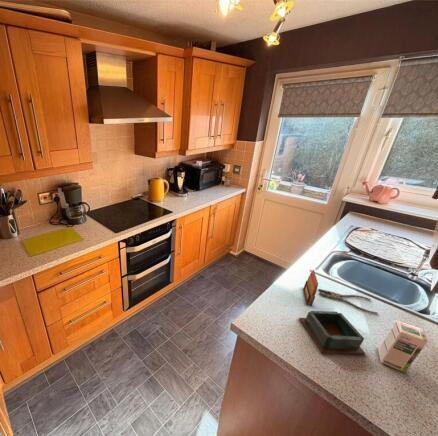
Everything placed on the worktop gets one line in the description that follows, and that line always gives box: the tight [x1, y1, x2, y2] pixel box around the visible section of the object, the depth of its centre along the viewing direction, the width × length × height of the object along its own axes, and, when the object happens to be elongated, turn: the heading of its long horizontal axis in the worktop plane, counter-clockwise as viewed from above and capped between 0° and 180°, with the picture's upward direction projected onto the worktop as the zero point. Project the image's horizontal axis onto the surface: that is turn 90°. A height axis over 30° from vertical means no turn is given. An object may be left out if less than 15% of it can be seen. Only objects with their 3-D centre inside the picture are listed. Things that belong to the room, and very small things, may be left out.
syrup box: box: [378, 319, 428, 373], centre depth 73 cm, size 6×6×14 cm
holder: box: [298, 310, 366, 356], centre depth 83 cm, size 14×14×6 cm
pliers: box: [317, 288, 378, 315], centre depth 99 cm, size 10×1×20 cm
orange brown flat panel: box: [302, 269, 319, 307], centre depth 99 cm, size 11×2×12 cm, turn 155°
